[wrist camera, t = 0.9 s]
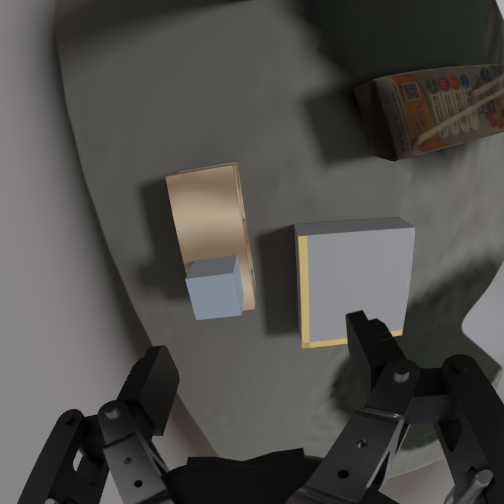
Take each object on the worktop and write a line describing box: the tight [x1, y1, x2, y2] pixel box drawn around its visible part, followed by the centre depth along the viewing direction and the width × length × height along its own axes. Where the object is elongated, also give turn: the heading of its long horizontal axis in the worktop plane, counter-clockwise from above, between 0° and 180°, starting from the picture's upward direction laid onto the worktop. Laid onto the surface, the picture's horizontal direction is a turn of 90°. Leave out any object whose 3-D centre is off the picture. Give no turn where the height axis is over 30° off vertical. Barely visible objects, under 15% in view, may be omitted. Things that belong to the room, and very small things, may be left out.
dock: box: [294, 217, 415, 349], centre depth 32 cm, size 13×12×4 cm
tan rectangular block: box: [166, 162, 256, 311], centre depth 30 cm, size 14×6×5 cm, turn 8°
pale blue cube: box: [185, 255, 244, 320], centre depth 27 cm, size 4×4×4 cm
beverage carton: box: [353, 64, 504, 161], centre depth 23 cm, size 8×19×7 cm, turn 110°
